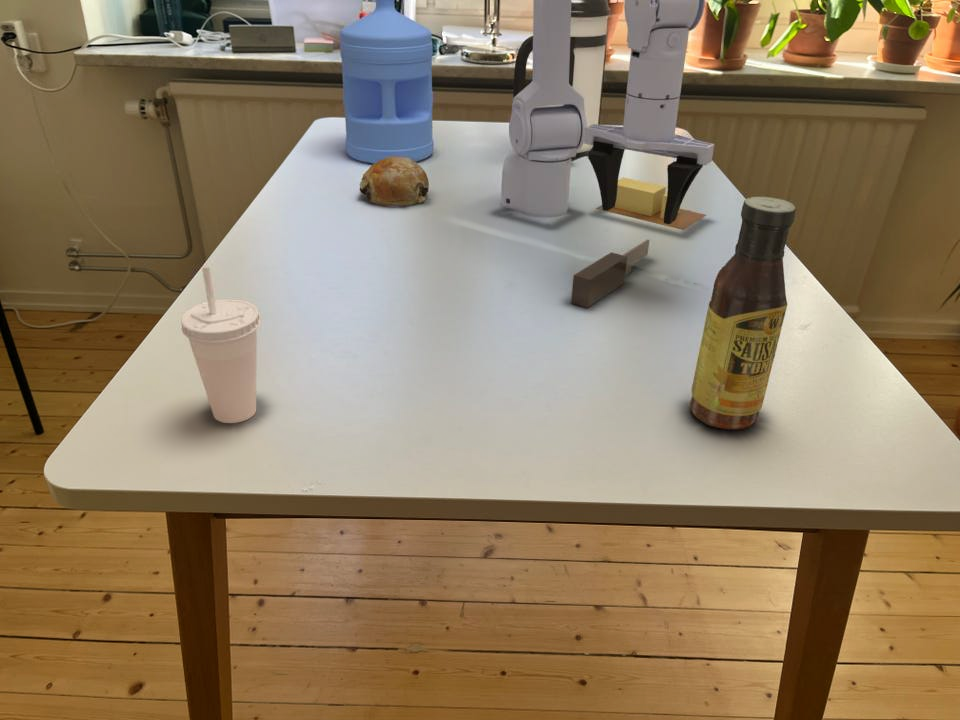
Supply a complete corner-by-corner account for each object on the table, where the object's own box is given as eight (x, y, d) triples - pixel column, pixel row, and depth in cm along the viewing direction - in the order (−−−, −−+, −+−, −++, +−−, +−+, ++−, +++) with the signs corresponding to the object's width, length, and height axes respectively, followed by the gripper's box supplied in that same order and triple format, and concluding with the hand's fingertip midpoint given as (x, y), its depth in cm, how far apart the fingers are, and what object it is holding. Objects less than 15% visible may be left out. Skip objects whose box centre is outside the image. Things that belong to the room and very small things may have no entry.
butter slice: (659, 218, 117) (663, 195, 115) (671, 211, 120) (675, 188, 118) (667, 220, 116) (670, 196, 115) (679, 213, 119) (682, 190, 118)
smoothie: (205, 393, 76) (181, 252, 69) (276, 391, 76) (259, 251, 69) (190, 433, 70) (162, 283, 63) (266, 430, 71) (246, 282, 64)
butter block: (608, 206, 121) (610, 183, 120) (620, 199, 124) (623, 177, 122) (650, 216, 118) (653, 193, 116) (663, 209, 121) (666, 186, 119)
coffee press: (519, 141, 157) (527, -32, 142) (603, 145, 155) (620, -29, 140) (510, 166, 142) (517, -24, 127) (602, 171, 140) (621, -21, 125)
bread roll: (406, 232, 123) (428, 187, 119) (346, 198, 122) (365, 152, 118) (423, 211, 131) (444, 168, 127) (367, 179, 131) (386, 135, 127)
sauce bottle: (720, 441, 71) (764, 222, 61) (673, 406, 75) (707, 197, 66) (776, 422, 73) (826, 210, 64) (727, 389, 78) (767, 187, 68)
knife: (570, 303, 94) (573, 275, 92) (638, 259, 106) (641, 233, 104) (587, 308, 93) (590, 280, 91) (653, 263, 105) (656, 237, 103)
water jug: (347, 142, 153) (337, -22, 140) (431, 142, 155) (429, -21, 141) (344, 166, 140) (333, -13, 126) (436, 165, 141) (435, -12, 128)
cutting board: (594, 214, 121) (595, 208, 120) (620, 201, 127) (621, 195, 126) (682, 236, 114) (683, 229, 113) (705, 221, 119) (706, 214, 119)
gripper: (576, 91, 89) (567, 211, 95) (705, 110, 82) (685, 238, 89) (604, 81, 94) (593, 196, 101) (727, 98, 87) (707, 220, 94)
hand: (638, 214), depth 95 cm, fingers open, 7 cm apart
